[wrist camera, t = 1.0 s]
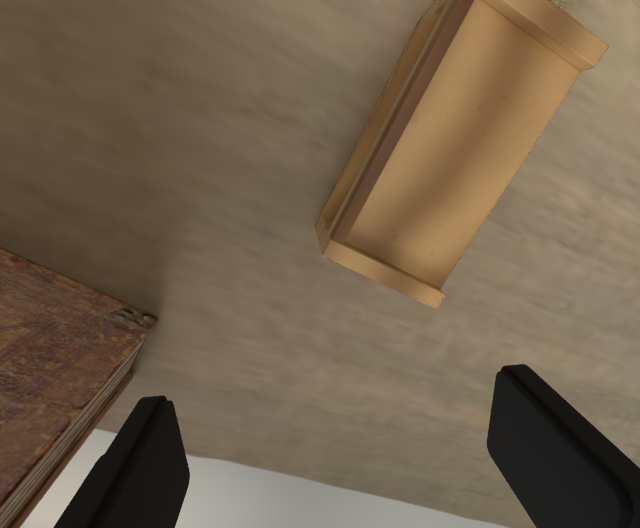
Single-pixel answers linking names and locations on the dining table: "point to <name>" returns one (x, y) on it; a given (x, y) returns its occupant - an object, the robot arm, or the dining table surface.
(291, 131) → the dining table surface
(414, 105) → the tray
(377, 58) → the dining table surface
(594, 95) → the dining table surface
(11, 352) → the book
